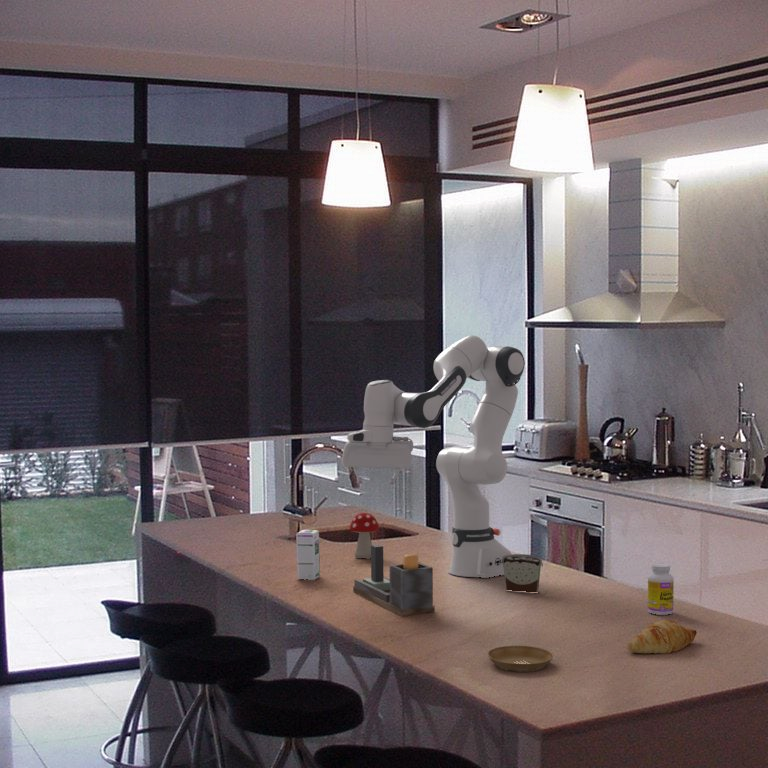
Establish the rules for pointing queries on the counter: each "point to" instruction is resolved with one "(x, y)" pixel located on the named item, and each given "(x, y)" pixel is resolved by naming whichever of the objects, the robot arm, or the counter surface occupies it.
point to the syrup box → (308, 554)
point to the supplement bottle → (660, 590)
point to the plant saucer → (520, 657)
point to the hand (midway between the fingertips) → (375, 483)
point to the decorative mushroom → (364, 533)
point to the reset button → (410, 561)
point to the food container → (522, 572)
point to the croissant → (662, 638)
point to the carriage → (377, 569)
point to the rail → (403, 590)
